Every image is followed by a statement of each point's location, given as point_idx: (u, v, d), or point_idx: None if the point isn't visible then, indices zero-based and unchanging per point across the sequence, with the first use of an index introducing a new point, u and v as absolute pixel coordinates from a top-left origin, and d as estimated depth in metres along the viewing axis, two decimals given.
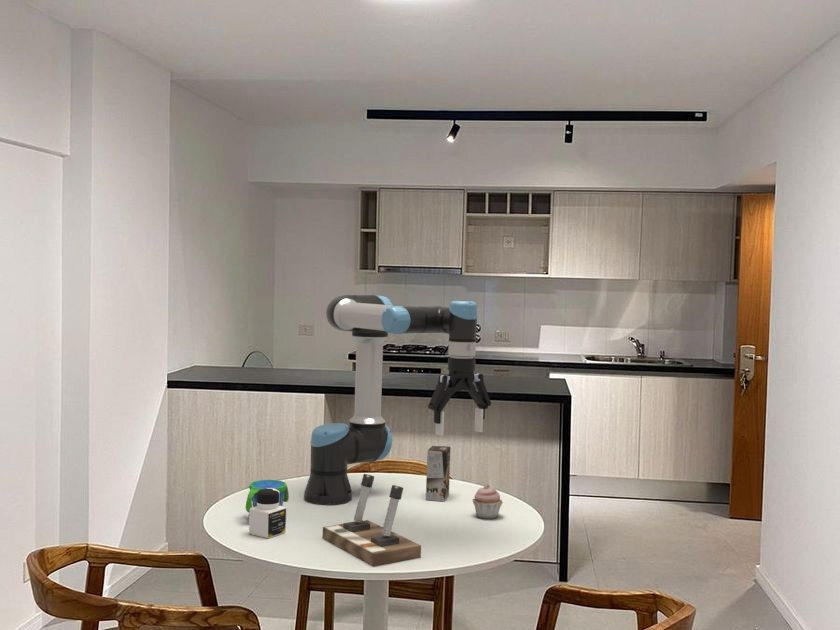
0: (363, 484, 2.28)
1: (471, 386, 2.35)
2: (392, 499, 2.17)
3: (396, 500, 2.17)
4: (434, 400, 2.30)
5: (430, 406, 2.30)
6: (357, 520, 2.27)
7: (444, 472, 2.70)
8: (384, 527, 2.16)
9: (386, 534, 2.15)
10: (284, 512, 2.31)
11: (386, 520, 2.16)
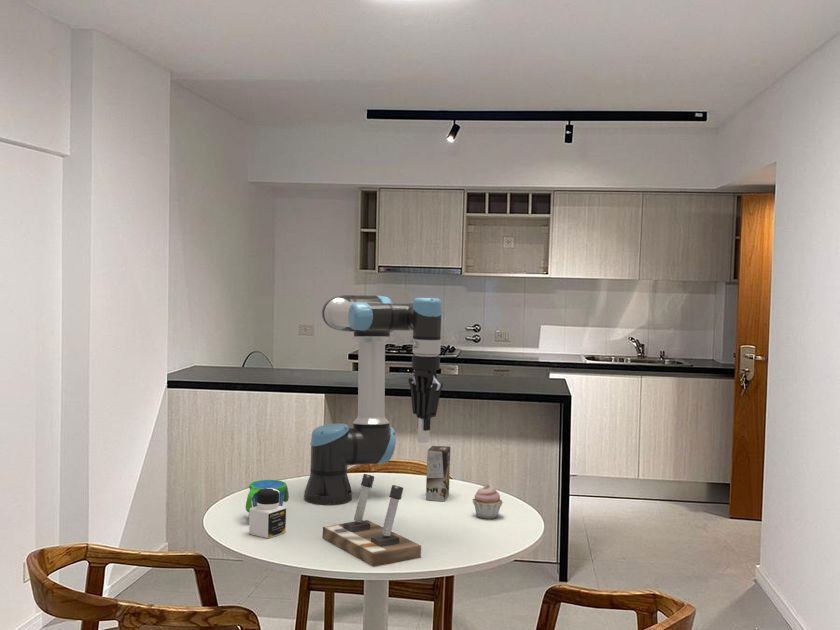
0: (363, 484, 2.28)
1: (422, 386, 2.28)
2: (392, 499, 2.17)
3: (396, 500, 2.17)
4: None
5: None
6: (357, 520, 2.27)
7: (444, 472, 2.70)
8: (384, 527, 2.16)
9: (386, 534, 2.15)
10: (284, 512, 2.31)
11: (386, 520, 2.16)
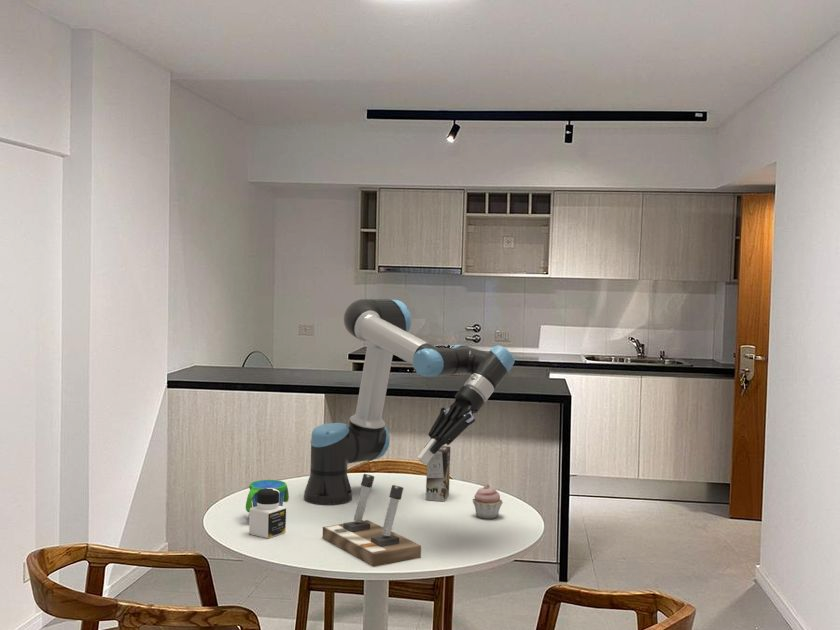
0: (363, 484, 2.28)
1: (454, 413, 2.26)
2: (392, 499, 2.17)
3: (396, 500, 2.17)
4: None
5: None
6: (357, 520, 2.27)
7: (444, 472, 2.70)
8: (384, 527, 2.16)
9: (386, 534, 2.15)
10: (284, 512, 2.31)
11: (386, 520, 2.16)
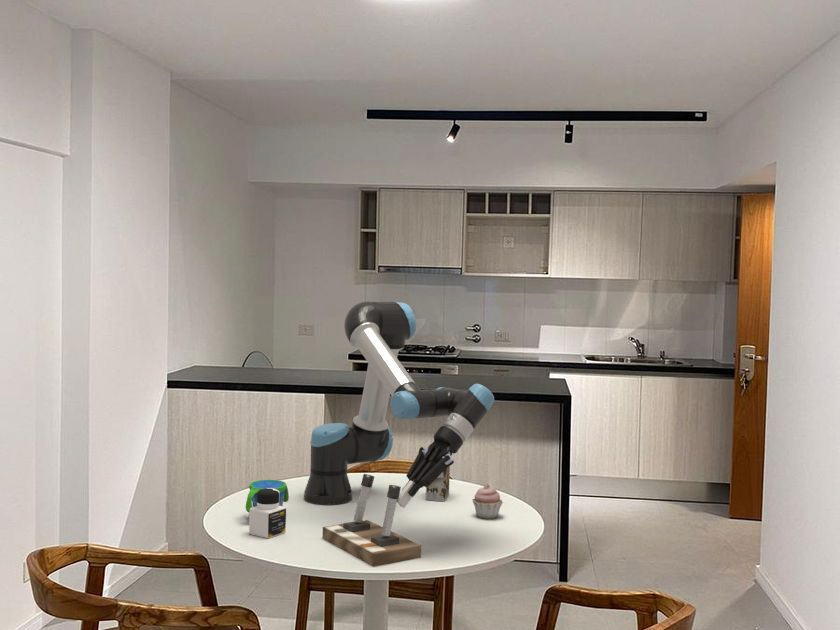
0: (363, 484, 2.28)
1: (433, 455, 2.22)
2: (390, 499, 2.16)
3: (394, 500, 2.16)
4: None
5: None
6: (357, 520, 2.27)
7: (444, 472, 2.70)
8: (383, 527, 2.16)
9: (386, 534, 2.15)
10: (284, 512, 2.31)
11: (385, 520, 2.16)
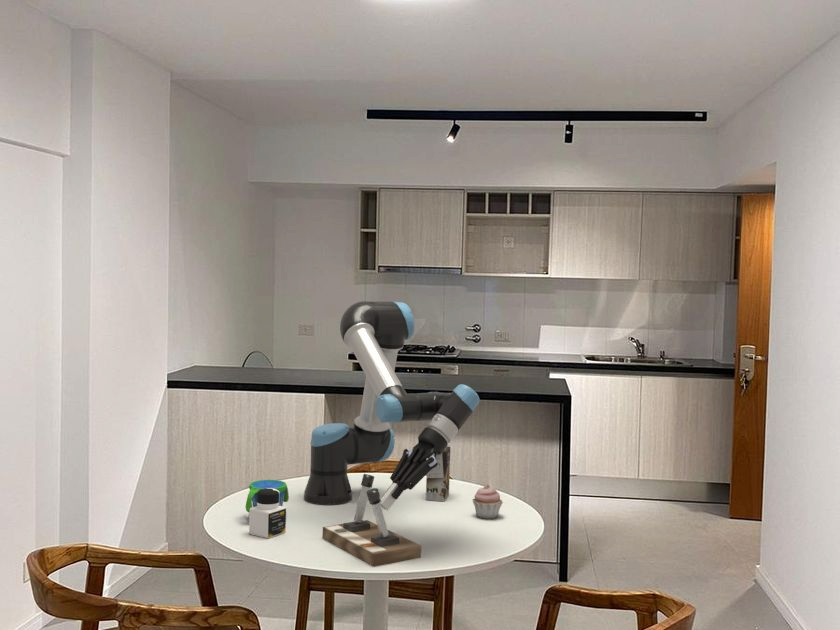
0: (363, 484, 2.28)
1: (417, 456, 2.19)
2: (373, 504, 2.13)
3: (377, 503, 2.13)
4: None
5: None
6: (357, 520, 2.27)
7: (444, 472, 2.70)
8: (379, 530, 2.15)
9: (384, 535, 2.15)
10: (284, 512, 2.31)
11: (378, 524, 2.15)
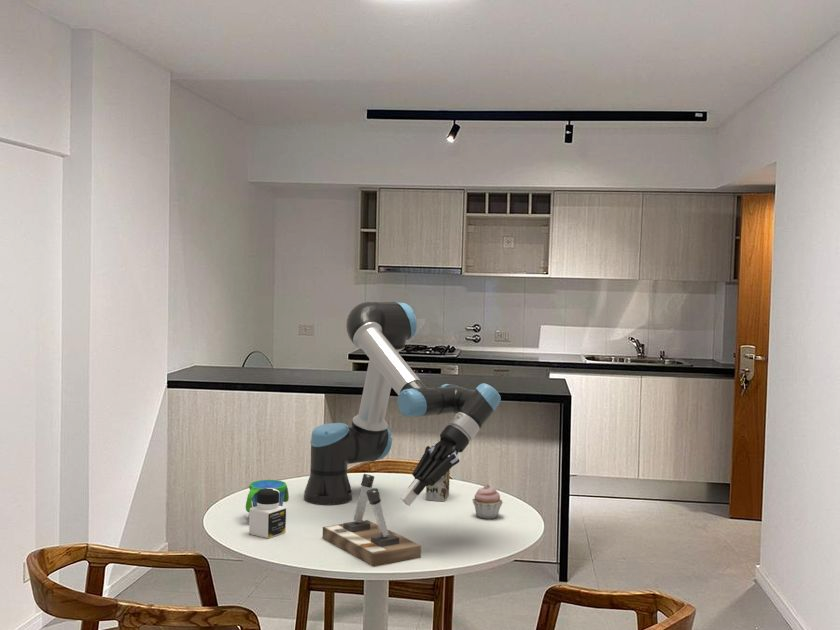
0: (363, 484, 2.28)
1: (439, 453, 2.23)
2: (373, 504, 2.13)
3: (377, 503, 2.13)
4: None
5: None
6: (357, 520, 2.27)
7: None
8: (379, 530, 2.15)
9: (384, 535, 2.15)
10: (284, 512, 2.31)
11: (378, 524, 2.15)
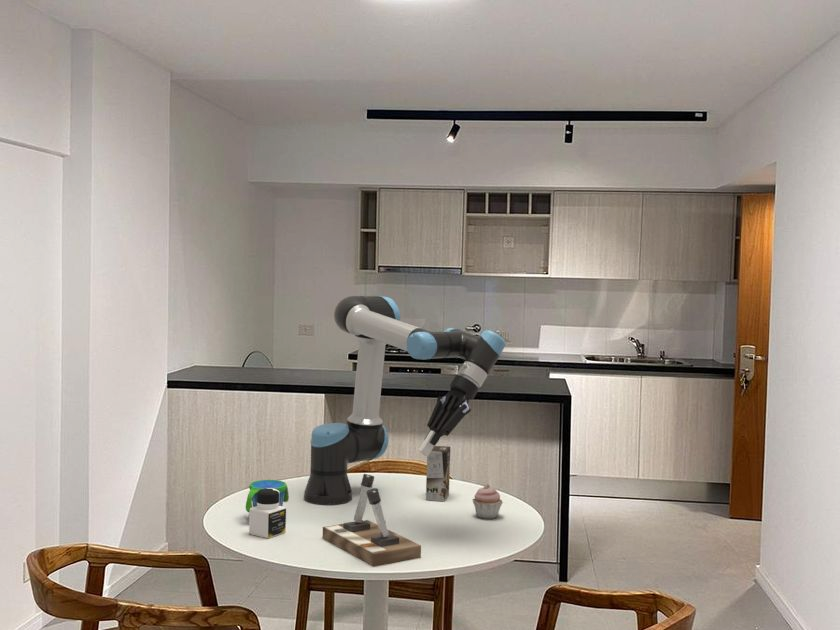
0: (363, 484, 2.28)
1: (450, 404, 2.32)
2: (373, 504, 2.13)
3: (377, 503, 2.13)
4: None
5: None
6: (357, 520, 2.27)
7: (444, 472, 2.70)
8: (379, 530, 2.15)
9: (384, 535, 2.15)
10: (284, 512, 2.31)
11: (378, 524, 2.15)
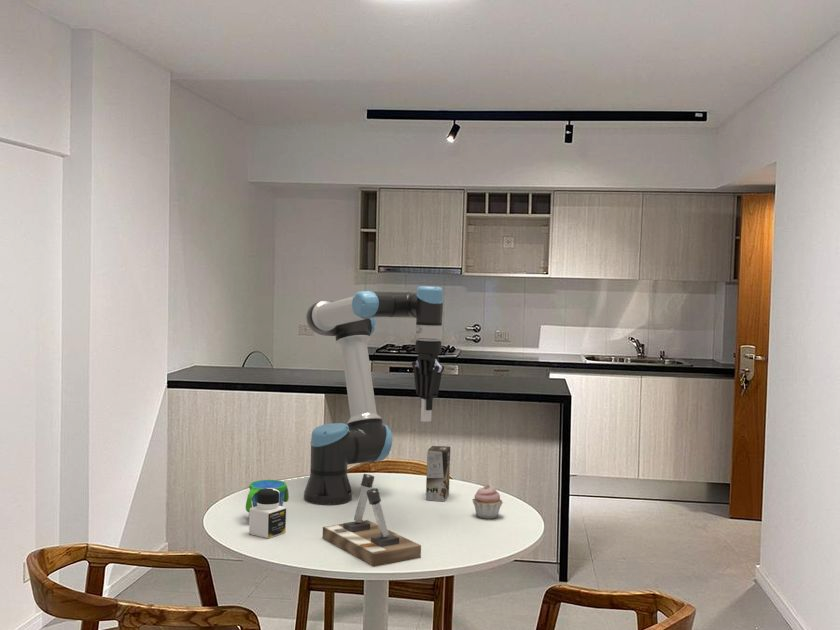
0: (363, 484, 2.28)
1: (425, 369, 2.44)
2: (373, 504, 2.13)
3: (377, 503, 2.13)
4: None
5: None
6: (357, 520, 2.27)
7: (444, 472, 2.70)
8: (379, 530, 2.15)
9: (384, 535, 2.15)
10: (284, 512, 2.31)
11: (378, 524, 2.15)
